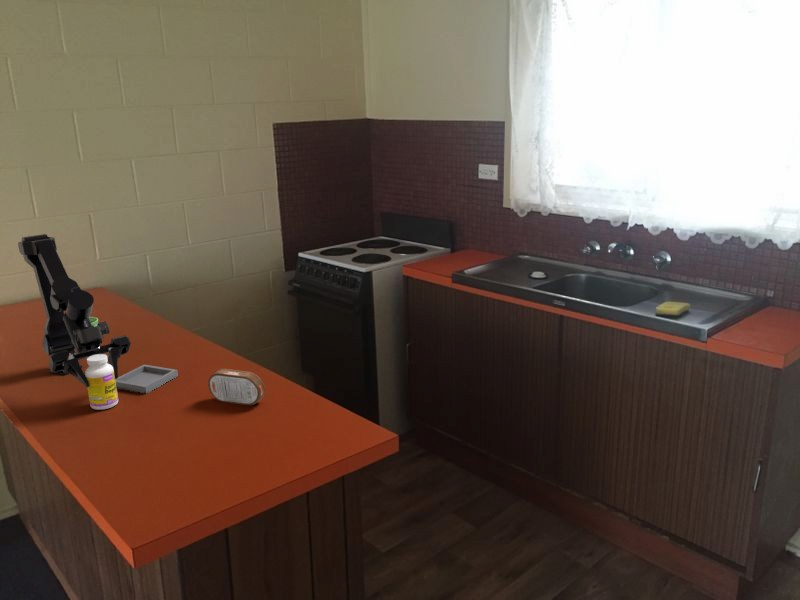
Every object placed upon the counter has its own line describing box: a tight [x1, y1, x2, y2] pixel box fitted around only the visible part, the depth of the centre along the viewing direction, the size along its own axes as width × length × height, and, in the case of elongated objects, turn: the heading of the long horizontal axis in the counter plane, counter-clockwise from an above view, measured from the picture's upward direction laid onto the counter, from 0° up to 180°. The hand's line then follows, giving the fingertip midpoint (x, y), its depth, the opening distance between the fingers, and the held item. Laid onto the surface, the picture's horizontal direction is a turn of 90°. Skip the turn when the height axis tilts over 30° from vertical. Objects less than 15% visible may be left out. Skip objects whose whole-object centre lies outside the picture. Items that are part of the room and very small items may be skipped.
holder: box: [115, 364, 179, 395], centre depth 184 cm, size 12×12×2 cm
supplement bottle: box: [84, 353, 119, 411], centre depth 169 cm, size 7×7×13 cm
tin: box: [207, 368, 266, 406], centre depth 169 cm, size 15×3×8 cm, turn 71°
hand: (102, 382), depth 168 cm, fingers closed on supplement bottle, 7 cm apart
